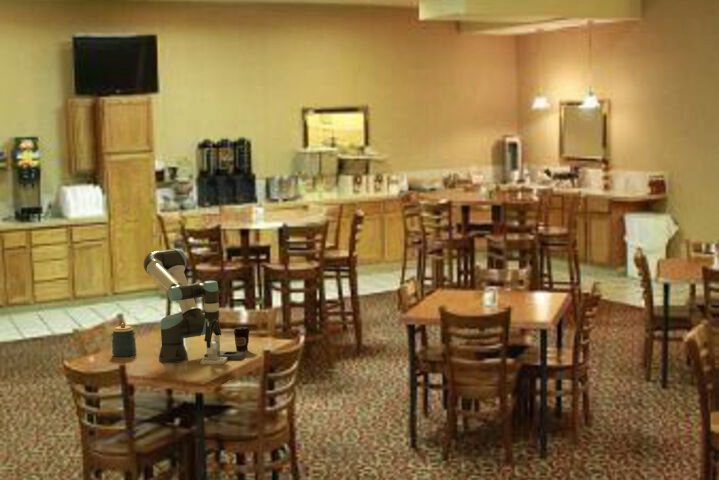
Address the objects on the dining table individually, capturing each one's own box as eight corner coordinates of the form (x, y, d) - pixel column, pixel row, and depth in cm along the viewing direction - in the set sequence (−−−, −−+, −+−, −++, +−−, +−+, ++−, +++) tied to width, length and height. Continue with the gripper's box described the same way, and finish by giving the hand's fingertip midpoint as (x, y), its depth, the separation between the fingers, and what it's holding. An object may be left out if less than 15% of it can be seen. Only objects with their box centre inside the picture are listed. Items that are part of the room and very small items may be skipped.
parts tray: (200, 364, 524) (200, 360, 524) (205, 360, 533) (205, 356, 533) (222, 364, 523) (222, 361, 522) (227, 360, 531) (227, 356, 531)
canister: (107, 355, 550) (105, 323, 548) (127, 350, 560) (125, 319, 558) (121, 358, 542) (119, 326, 540) (141, 354, 551) (139, 322, 549)
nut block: (208, 362, 526) (207, 343, 525) (211, 359, 531) (210, 341, 530) (217, 362, 525) (216, 343, 524) (220, 360, 530) (219, 341, 529)
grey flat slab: (204, 359, 534) (204, 354, 534) (209, 355, 543) (209, 351, 543) (240, 360, 531) (240, 355, 531) (245, 356, 540) (245, 351, 540)
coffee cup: (247, 353, 547) (246, 329, 546) (232, 352, 549) (231, 329, 547) (251, 349, 556) (251, 326, 554) (237, 349, 557) (236, 326, 556)
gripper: (211, 315, 512) (213, 356, 514) (225, 306, 536) (227, 345, 539) (197, 315, 513) (199, 356, 516) (212, 306, 538) (213, 345, 540)
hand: (213, 350), depth 527 cm, fingers open, 13 cm apart
